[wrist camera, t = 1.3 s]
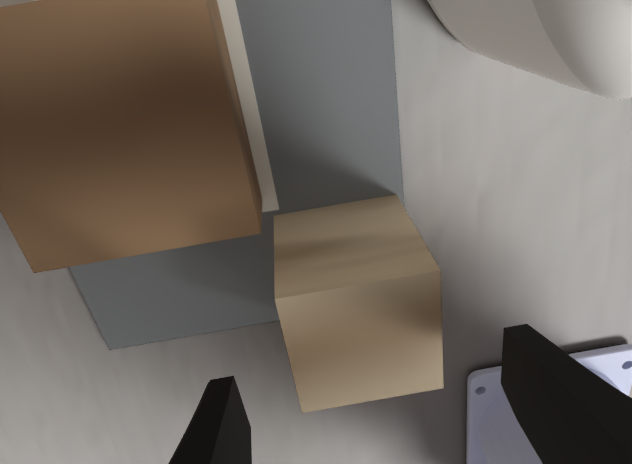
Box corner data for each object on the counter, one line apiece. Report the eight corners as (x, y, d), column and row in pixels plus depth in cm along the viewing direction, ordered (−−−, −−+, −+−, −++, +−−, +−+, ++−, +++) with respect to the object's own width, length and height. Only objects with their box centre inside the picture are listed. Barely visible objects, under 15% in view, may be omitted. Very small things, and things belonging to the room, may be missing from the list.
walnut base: (262, 199, 16) (261, 233, 14) (65, 233, 16) (33, 273, 14) (211, -27, 13) (199, -28, 11) (-38, 16, 13) (-101, 24, 11)
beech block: (403, 293, 19) (443, 388, 15) (294, 312, 19) (302, 412, 15) (396, 194, 17) (440, 270, 12) (273, 215, 17) (274, 299, 12)
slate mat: (407, 291, 19) (410, 299, 19) (112, 343, 19) (108, 351, 19) (379, -120, 13) (384, -124, 12) (-74, -42, 13) (-86, -43, 12)
